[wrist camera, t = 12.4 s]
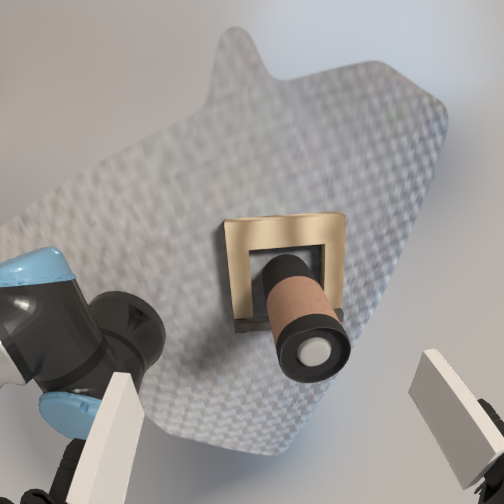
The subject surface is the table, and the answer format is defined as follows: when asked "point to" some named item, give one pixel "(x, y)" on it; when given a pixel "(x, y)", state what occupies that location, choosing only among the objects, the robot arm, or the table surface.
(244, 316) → the wooden arch frame
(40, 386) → the robot arm
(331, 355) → the travel mug
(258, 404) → the table surface
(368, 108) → the table surface
